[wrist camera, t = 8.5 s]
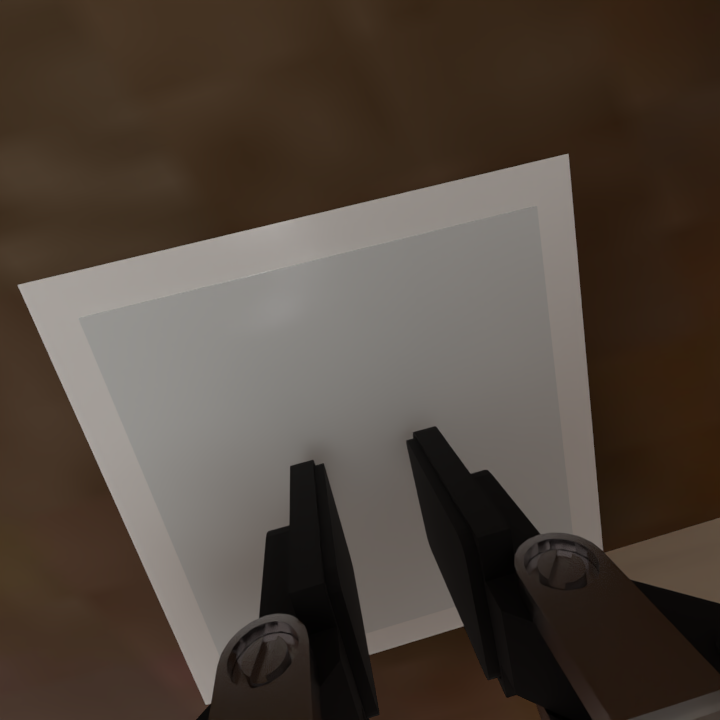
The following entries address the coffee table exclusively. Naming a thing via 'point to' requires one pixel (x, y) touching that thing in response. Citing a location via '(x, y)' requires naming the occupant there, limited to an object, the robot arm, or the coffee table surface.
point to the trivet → (332, 389)
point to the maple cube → (676, 561)
